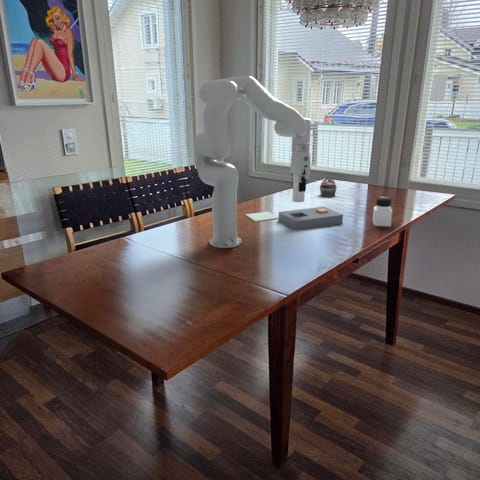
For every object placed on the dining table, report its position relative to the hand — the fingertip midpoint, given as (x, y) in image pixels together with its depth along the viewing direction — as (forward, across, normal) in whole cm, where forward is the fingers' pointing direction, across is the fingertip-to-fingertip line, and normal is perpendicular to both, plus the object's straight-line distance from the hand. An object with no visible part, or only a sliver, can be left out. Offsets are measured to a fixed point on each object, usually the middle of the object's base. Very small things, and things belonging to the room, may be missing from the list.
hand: (298, 189), depth 179 cm
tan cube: (+15, 0, -13) cm, 19 cm away
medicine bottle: (+15, -16, -34) cm, 40 cm away
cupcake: (+15, +42, -43) cm, 62 cm away
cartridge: (+5, 0, 0) cm, 5 cm away
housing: (+15, 0, -7) cm, 17 cm away
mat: (+16, +16, +10) cm, 25 cm away
